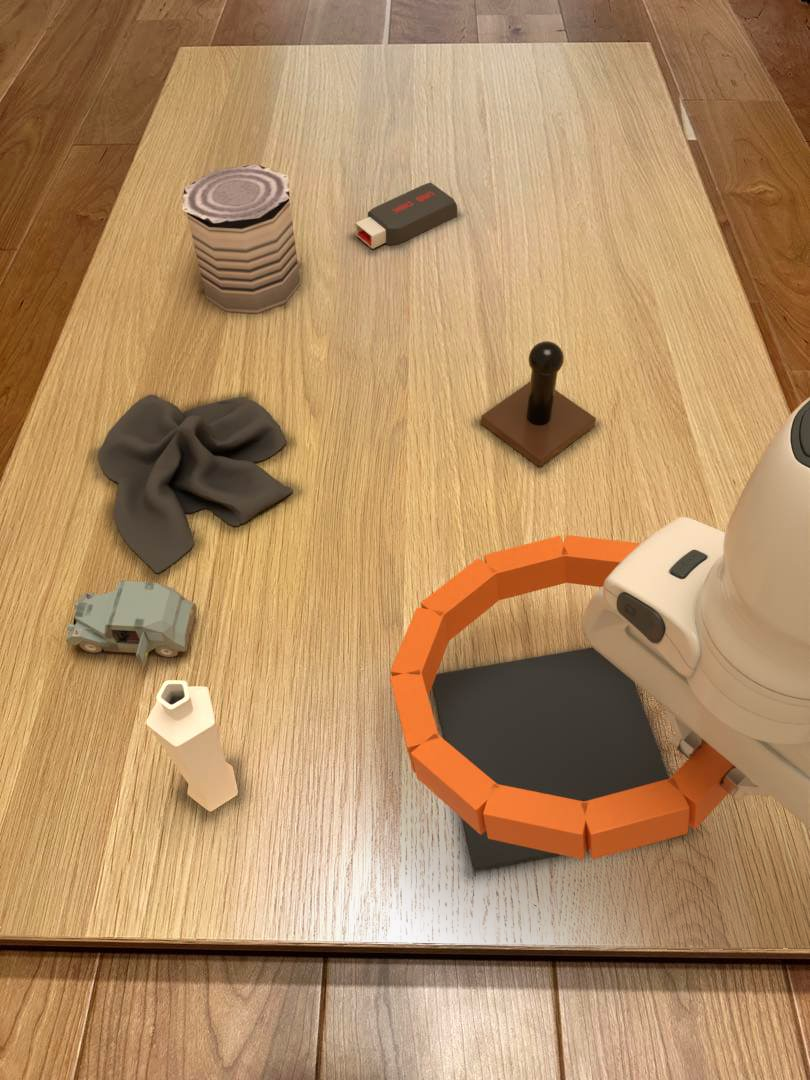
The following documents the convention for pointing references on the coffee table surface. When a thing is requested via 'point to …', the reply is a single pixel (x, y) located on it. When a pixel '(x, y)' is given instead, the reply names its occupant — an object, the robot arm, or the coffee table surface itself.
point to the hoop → (518, 810)
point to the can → (243, 237)
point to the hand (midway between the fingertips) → (711, 765)
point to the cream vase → (193, 742)
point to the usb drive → (406, 216)
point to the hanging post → (539, 411)
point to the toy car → (133, 620)
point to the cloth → (188, 470)
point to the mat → (547, 733)
